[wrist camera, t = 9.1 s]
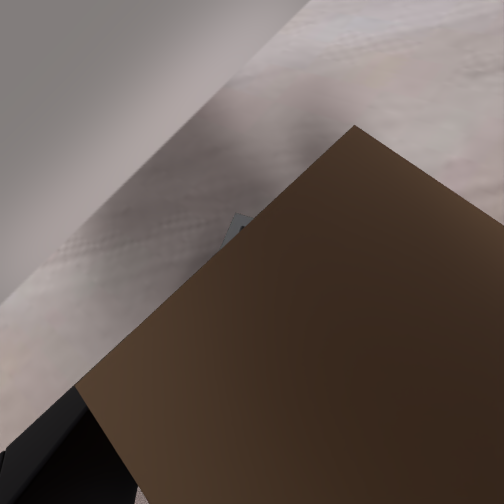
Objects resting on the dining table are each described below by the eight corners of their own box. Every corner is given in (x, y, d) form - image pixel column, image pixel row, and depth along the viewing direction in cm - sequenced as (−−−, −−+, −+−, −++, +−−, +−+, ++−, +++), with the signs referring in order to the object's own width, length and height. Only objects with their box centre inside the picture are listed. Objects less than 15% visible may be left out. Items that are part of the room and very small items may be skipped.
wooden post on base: (301, 438, 15) (492, 1382, 1) (225, 349, 16) (-24, 381, 3) (377, 353, 15) (953, 418, 2) (297, 277, 17) (347, 58, 4)
